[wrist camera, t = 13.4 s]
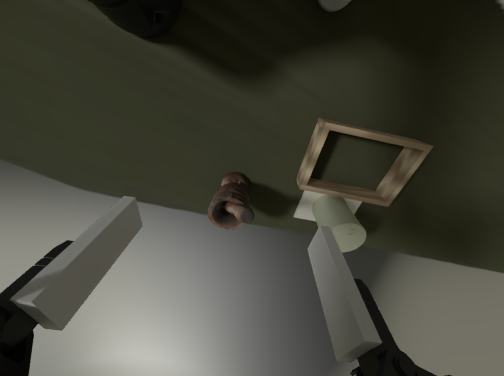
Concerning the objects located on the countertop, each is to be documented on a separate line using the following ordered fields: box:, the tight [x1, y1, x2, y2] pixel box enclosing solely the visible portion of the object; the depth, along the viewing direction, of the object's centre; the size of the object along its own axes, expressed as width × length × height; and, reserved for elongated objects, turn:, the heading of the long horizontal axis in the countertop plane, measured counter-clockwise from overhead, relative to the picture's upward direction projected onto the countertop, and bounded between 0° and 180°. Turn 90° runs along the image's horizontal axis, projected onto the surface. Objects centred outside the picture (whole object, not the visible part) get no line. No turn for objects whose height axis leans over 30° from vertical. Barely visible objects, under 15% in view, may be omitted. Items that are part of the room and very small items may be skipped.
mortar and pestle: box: [208, 172, 254, 230], centre depth 39 cm, size 12×9×20 cm
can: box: [312, 195, 367, 252], centre depth 45 cm, size 9×9×12 cm
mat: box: [294, 190, 362, 221], centre depth 50 cm, size 11×16×1 cm
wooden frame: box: [296, 118, 434, 207], centre depth 41 cm, size 15×22×5 cm
